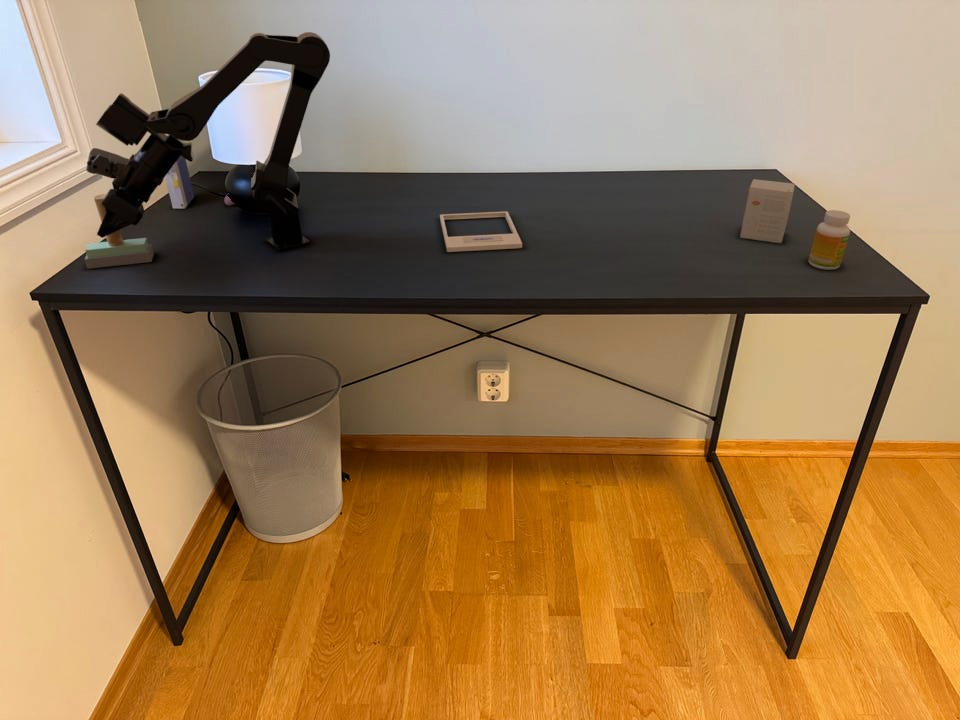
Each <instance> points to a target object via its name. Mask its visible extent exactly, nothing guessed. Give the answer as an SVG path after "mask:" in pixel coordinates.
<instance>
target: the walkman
mask: <svg viewBox="0 0 960 720" xmlns="http://www.w3.org/2000/svg"><path fill="white" fill-rule="evenodd" d="M164 180H165V182H166V183H165V184H166V187H167V191H168V195H169V199H170V202H171V206H172V209H173V210H174V209H180V210H182V209H184V210H185V209H186V208H187V207H188V206H189V204H191V202H192V201H193V200H194V198H195V193H194V189H193V185H192V180H191V176H190V172H189V168H188V163H187V159H185V158H184V157H182V156H180V157H179V159H178V160H177V161H176V163H175V164H174V165H173V167H172V168H171V169H170V171H169V172H168V173H167V175H166V176H165V177H164Z"/></svg>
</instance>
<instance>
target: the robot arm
mask: <svg viewBox="0 0 960 720" xmlns="http://www.w3.org/2000/svg"><path fill="white" fill-rule="evenodd" d="M330 60H331V53H330V49H329V46H328V45H327V43H326V41H325V40H324V39H323V38H322V37H321V36H320V35H319V34H317V33H315V32H312V31H307V32H303V33H301V34H299V35H298V36H294V35H280V34H279V35H277V34H275V35H273V34H265V33H262V32H255V33H254V34H252V35H250V36H249V39H248V40H247V42H245V44H244V45H243V46H241V48H239V50H238V51H236V53H234V54H233V56H231V57H230V58H229V59H228V60H227V61H226V62H225V63H224V64H223V65H222V66H221V67H220V68H219V69H218V70H217V71H216V72H215V73H214V74H213V75H212V76H211V77H210V78H209V79H208V80H207V81H206V82H204V84H202V85H201V86H199V87H197V88H196V89H194V90H193V91H191V92H189V93H187V94H185V95H184V96H182V97H180V98H179V99H177V100H176V101H174V102H173V103H172V104H171V105H170V106H169V108H165V109H160V110H154V111H151V112H150V113H148V112H146V111H145V110H144V109H142V108H141V107H139V106H138V105H137V104H136V103H134V102H133V101H132V100H131V99H130V98H129V97H128V96H127V95H125V94H124V93H121V92H120V93H119V94H118V96H117V97H116V98H115V99H114V101H113V102H112V103H111V104H109V105H108V106H107V108H106V109H105V111H104V112H103V114H102V115H101V116H100V118H99V119H98V121H97V122H96V124H95V125H96V126H97V127H98V128H100V129H101V130H103V131H105V132H106V133H107V134H109V135H110V136H111V137H113V138H114V139H116V140H118V141H119V143H120V142H121V143H122V144H123V145H124V146H126V147H128V146H129V145H130V146H133V145H135V146H136V147H137V146H138V145H139V144H140V143H141V141H142V140H143V139H144V137H145V136H146V134H147V133H149V134H150V135H149V136H148V137H147V138H146V140H145V141H144V143H143V144H142V146H140V148H139V150H138V151H137V152H136V153H132V154H131V156H130V157H129V158H127V157H124V156H122V155H119V154H118V153H117V154H116V153H113V152H110V151H107V150H104V149H101V148H97V147H93V148H91V150H90V152H89V153H88V159H87V161H86V169H85V171H86V172H88V173H90V174H92V175H98V176H99V175H100V176H102V177H106V178H110V179H113V180H112V182H111V184H112V185H111V186H112V188H110V189H109V190H108V192H106V193H105V194H106V196H105V197H104V199H103V200H102V202H101V204H102V205H103V206H104V207H105V210H106V214H105V216H104V219H103V221H102V222H100V226H99V228H98V230H97V232H96V235H97V236H98V237H100V238H102V239H103V238H105V237H106V236H108V235H110V234H112V233H114V232H116V231H118V230H120V231H121V230H122V229H124V228H127V227H128V226H131V225H132V226H137V225H138V224H139V222H140V221H141V220H142V219H143V217H144V214H145V208H144V203H145V204H147V203H148V202H149V200H150V199H151V196H152V194H153V193H154V192H155V190H156V189H157V188H158V186H161V185H162V183H163V182H164V180H165V176H166V175H167V173H168V172H169V171H170V169H171V168H172V167H173V165H174V164H175V163H176V161H177V160H178V159H179V157H180V156H182V157H184V158H185V159H186V161H188V162H190V163H191V162H193V160H194V156H195V154H194V150H193V143H192V142H191V141H193V140H195V139H197V137H199V135H200V134H201V132H202V131H203V129H204V128H205V127H206V125H207V124H208V122H209V121H210V119H211V118H212V115H214V113H215V112H216V110H217V108H218V107H219V105H221V103H223V102H224V101H225V100H226V99H227V98H228V97H229V96H230V95H232V93H233V92H234V91H236V89H237V88H238V87H239V86H240V85H241V84H243V82H245V81H246V79H248V77H250V76H251V75H252V74H253V73H254V72H255V71H256V70H257V69H258V68H260V66H261V65H262V64H263V63H264V62H273V63H278V64H279V63H280V64H285V65H291V71H290V81H289V86H288V89H287V93H286V96H285V99H284V103H283V106H282V110H281V113H280V116H279V119H278V124H277V127H276V130H275V133H274V136H273V140H272V143H271V145H270V146H271V147H270V150H269V154H268V155H267V157H266V159H265V160H264V161H263V162H261V161H259V160H256V161H255V168H254V173H253V174H254V175H253V177H252V178H251V190H253V198H252V199H253V202H254V203H255V205H256V206H257V207H258V208H259V209H260V210H262V211H264V212H266V215H267V216H268V220H269V227H270V232H271V237H269V238H266V243H268V244H269V245H270V246H272V247H273V248H274V249H276V250H277V251H278V252H282V251H286V250H290V249H295V248H298V247H302V246H306V245H309V244H310V240H309V239H307V237H305V236H303V232H302V226H301V218H300V212H299V211H300V209H299V202H298V197H297V194H296V193H294V192H293V191H292V190H291V189H289V188H288V180H289V179H288V177H289V167H290V163H291V159H292V156H293V153H294V151H295V148H296V144H297V141H298V138H299V134H300V132H301V128H302V124H303V121H304V118H305V115H306V111H307V108H308V105H309V102H310V99H311V96H312V93H313V92H314V90H315V88H316V87H317V85H318V84H319V83H320V81H321V79H322V77H323V75H324V73H325V71H326V69H327V68H328V65H329V64H330ZM183 141H184V142H183Z"/></svg>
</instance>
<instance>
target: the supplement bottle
mask: <svg viewBox="0 0 960 720" xmlns="http://www.w3.org/2000/svg"><path fill="white" fill-rule="evenodd" d="M850 219H851V215H850V213H848V212H846V211H843V210H838V209H837V210H835V209H831V210H826V211H825V213H824V217H823V221H822V222H820V223H819V224H818V225H817V227H816V231H815V235H814V239H813V242H812V245H811V249H810V250H811V251H810V254H809V257H808V263H809V265H810V266H812V267H814V268H816V269H819V270H826V271H834V270H838V269H839V268H840V266H841V264H842V261H843V258H844V254H845V251H846V248H847V244H848V241H849V238H850V234H851V229H850V227H849V225H848V224H849V223H850Z"/></svg>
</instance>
